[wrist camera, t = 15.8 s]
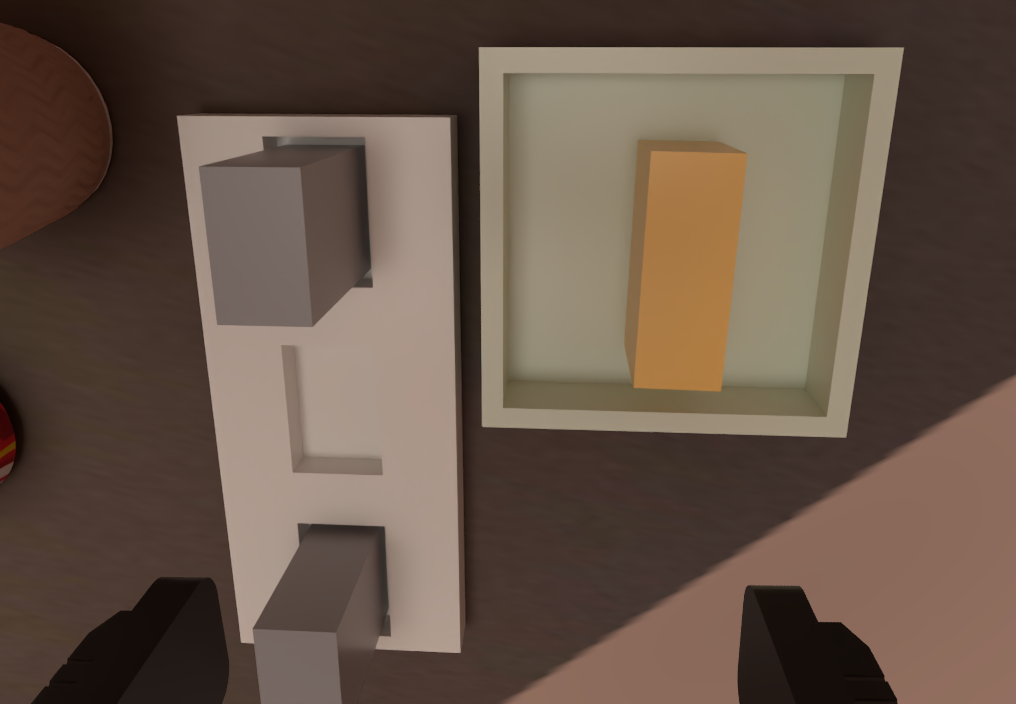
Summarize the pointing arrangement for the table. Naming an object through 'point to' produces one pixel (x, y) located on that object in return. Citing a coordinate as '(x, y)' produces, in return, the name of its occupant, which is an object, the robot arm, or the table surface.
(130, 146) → the table surface
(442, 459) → the fuse holder
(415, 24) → the table surface
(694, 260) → the block
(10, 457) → the soda can
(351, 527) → the block
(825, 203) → the parts tray
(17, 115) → the coffee cup
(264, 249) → the block
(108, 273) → the table surface
